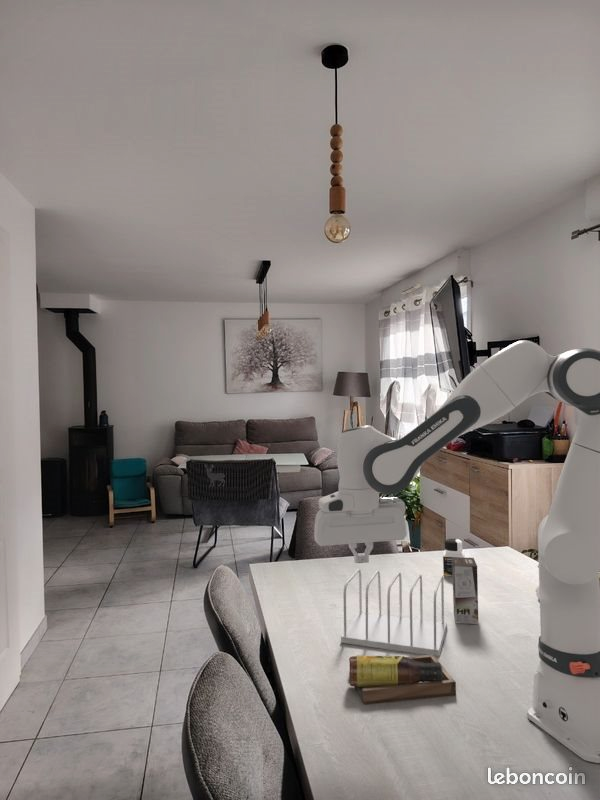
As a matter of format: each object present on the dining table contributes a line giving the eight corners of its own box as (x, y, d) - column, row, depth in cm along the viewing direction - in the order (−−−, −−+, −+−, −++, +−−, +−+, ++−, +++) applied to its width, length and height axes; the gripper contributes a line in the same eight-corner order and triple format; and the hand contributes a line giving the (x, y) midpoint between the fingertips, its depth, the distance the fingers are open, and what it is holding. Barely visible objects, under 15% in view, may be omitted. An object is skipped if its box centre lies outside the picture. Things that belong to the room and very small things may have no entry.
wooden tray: (456, 695, 119) (455, 681, 119) (363, 704, 117) (363, 690, 117) (433, 666, 132) (433, 654, 132) (350, 674, 130) (349, 662, 130)
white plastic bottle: (443, 575, 199) (442, 541, 199) (444, 569, 206) (443, 536, 206) (464, 577, 197) (463, 542, 197) (464, 571, 203) (463, 537, 203)
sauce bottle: (348, 662, 128) (437, 664, 127) (349, 691, 123) (441, 694, 122) (348, 649, 124) (440, 652, 122) (349, 679, 119) (445, 682, 118)
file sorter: (340, 644, 146) (338, 583, 146) (358, 618, 163) (356, 564, 163) (439, 657, 137) (437, 593, 137) (447, 629, 154) (445, 572, 154)
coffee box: (479, 624, 156) (477, 566, 156) (455, 623, 157) (453, 565, 157) (475, 612, 165) (474, 557, 164) (453, 611, 166) (451, 556, 166)
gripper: (400, 494, 129) (402, 555, 129) (311, 500, 126) (314, 562, 126) (409, 498, 122) (411, 562, 122) (316, 505, 120) (318, 570, 120)
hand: (361, 562), depth 124 cm, fingers closed
